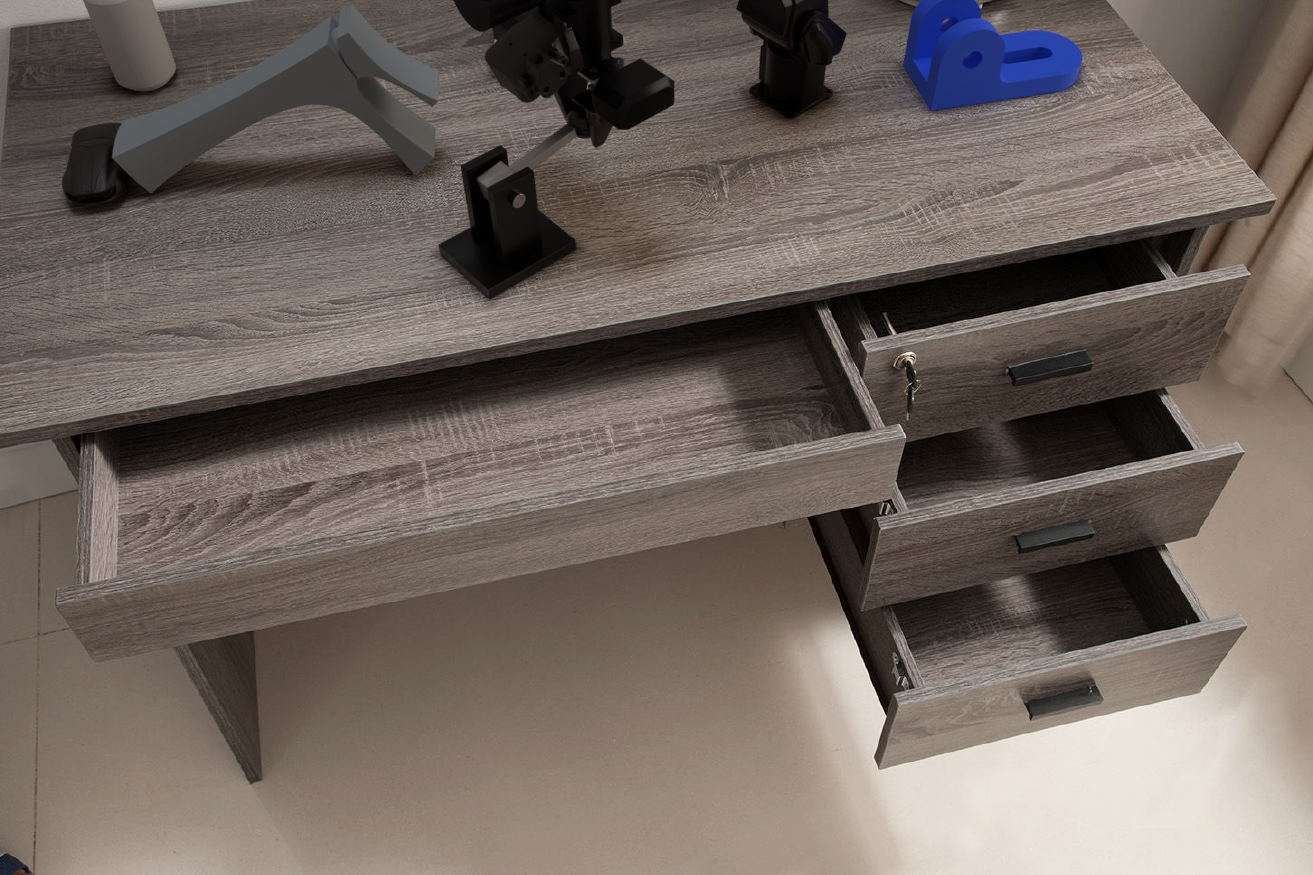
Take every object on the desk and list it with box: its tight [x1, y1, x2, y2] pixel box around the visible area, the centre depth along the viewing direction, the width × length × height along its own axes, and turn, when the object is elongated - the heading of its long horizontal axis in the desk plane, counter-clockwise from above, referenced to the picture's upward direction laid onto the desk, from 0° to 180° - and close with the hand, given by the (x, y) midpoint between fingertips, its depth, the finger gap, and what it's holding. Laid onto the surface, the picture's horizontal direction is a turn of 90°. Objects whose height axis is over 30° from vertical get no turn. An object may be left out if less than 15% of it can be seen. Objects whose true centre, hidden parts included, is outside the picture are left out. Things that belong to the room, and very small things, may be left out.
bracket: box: [902, 0, 1083, 112], centre depth 128 cm, size 18×8×9 cm, turn 103°
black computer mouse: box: [61, 122, 130, 206], centre depth 121 cm, size 6×12×4 cm, turn 9°
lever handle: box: [477, 104, 591, 201], centre depth 110 cm, size 13×3×3 cm, turn 131°
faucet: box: [112, 3, 441, 194], centre depth 120 cm, size 6×17×30 cm
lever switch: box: [438, 144, 577, 300], centre depth 111 cm, size 10×8×10 cm
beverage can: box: [82, 0, 177, 92], centre depth 128 cm, size 6×6×12 cm
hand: (586, 136), depth 113 cm, fingers closed on lever handle, 3 cm apart
